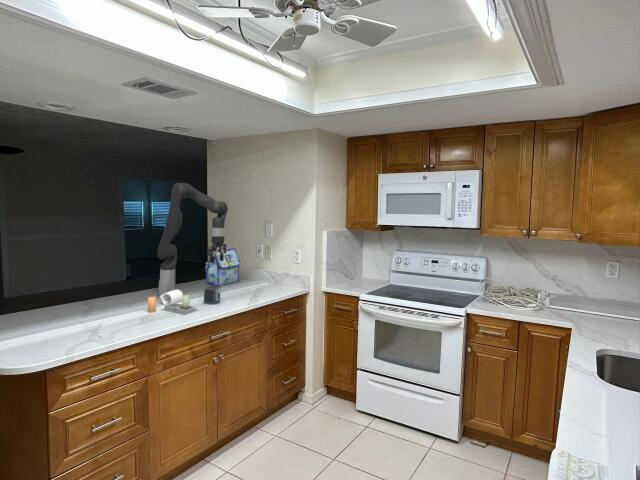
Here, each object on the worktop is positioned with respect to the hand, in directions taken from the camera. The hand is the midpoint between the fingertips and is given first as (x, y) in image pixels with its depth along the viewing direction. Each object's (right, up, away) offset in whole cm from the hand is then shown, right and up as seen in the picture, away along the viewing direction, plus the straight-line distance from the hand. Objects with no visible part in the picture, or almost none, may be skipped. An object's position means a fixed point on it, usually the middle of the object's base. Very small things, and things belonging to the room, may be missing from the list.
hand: (217, 261), depth 240 cm
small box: (-5, -27, +8) cm, 28 cm away
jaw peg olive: (-14, -27, -13) cm, 33 cm away
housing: (-18, -28, -11) cm, 35 cm away
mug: (-30, -26, +4) cm, 40 cm away
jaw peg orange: (-32, -28, -17) cm, 46 cm away
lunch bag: (-12, -20, +66) cm, 70 cm away
